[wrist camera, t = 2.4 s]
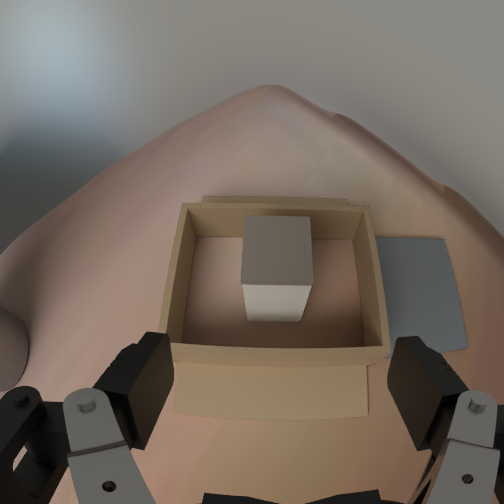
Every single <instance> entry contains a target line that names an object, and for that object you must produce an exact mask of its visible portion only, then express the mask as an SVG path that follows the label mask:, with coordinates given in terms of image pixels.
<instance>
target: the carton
mask: <svg viewBox="0 0 504 504" xmlns="http://www.w3.org/2000/svg"><path fill="white" fill-rule="evenodd" d="M245 216H298V217H310V227H311V238H313V239H352V240H353V245H354V252H355V260H356V267H357V276H358V284H359V293H360V303H361V313H362V325H363V337H364V347H349V348H250V347H227V346H209V345H194V344H182V343H181V342H182V334H183V326H184V318H185V310H186V303H187V296H188V288H189V281H190V275H191V268H192V261H193V255H194V249H195V242H196V237H244V225H245ZM158 333H167V334H168V335H169V338H170V344H171V352H172V360H173V362H178V369H177V379H176V389H175V400H174V411H173V413H179V414H187V415H196V416H206V417H217V418H231V419H250V420H323V419H341V418H354V417H365V416H368V396H367V369H366V366H372V365H374V364H375V363H377V362H378V361H380V360H381V359H383V358H385V357H386V356H388V355H389V354H391V348H390V337H389V327H388V318H387V310H386V302H385V295H384V288H383V281H382V274H381V268H380V262H379V256H378V251H377V245H376V240H375V234H374V229H373V224H372V220H371V215H370V210H369V207H364V206H348V202H347V199H328V198H300V197H244V196H212V197H202V203H182V206H181V211H180V215H179V220H178V225H177V229H176V234H175V239H174V244H173V249H172V254H171V259H170V265H169V270H168V275H167V281H166V287H165V292H164V298H163V304H162V311H161V317H160V323H159V330H158Z"/></svg>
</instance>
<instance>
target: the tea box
mask: <svg viewBox="0 0 504 504" xmlns="http://www.w3.org/2000/svg"><path fill="white" fill-rule="evenodd" d="M313 283H314V275H313V257H312V241H311V227H310V217H298V216H245V225H244V239H243V253H242V268H241V284H242V286H243V293H244V300H245V306H246V313H247V319H248V321H286V322H300V321H301V318H302V315H303V312H304V308H305V305H306V302H307V299H308V296H309V292H310V289H311V286H313Z"/></svg>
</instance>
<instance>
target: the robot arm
mask: <svg viewBox="0 0 504 504" xmlns="http://www.w3.org/2000/svg"><path fill="white" fill-rule="evenodd" d="M27 357H28V338H27V332H26V330H25V327H24V325H23V323H22V321H21V320H20V319H19V318H18V317H17V316H16V315H14V314H13V313H11V312H10V311H8V310H7V309H5V308H4V307H2V306H1V305H0V391H5V390H8V389H10V388H12V387H13V386H14V385H15V384H16V383H17V382H18V381H19V379H20V377H21V376H22V374H23V371H24V369H25V366H26V362H27ZM173 381H174V367H173V360H172V352H171V344H170V338H169V335H168V334H167V333H157V332H146V333H145V334H144V336H143V337H142V338H141V340H140V341H139V342H138V344H133V343H132V344H131V345H129V346H127V347H126V348H124V349H122V350H121V351H120V353H119V354H118V355H117V356H116V358H115V360H113V362H112V363H111V364H110V367H108V368H107V369H106V370H105V372H104V373H103V374H102V376H101V377H100V378H99V380H98V381H97V382H96V383H95V385H94V386H93V387H92V388H84V389H79V390H76V391H74V392H72V393H71V394H69V395H68V396H67V397H66V398H65V400H64V402H47V401H43V400H42V398H41V396H40V393H39V392H38V390H37V389H35V388H33V387H30V386H20V387H16V388H13V389H11V390H10V391H8V392H7V393H6V394H5V395H4V396H3V397H2V398H1V399H0V504H49V502H50V500H51V498H52V496H53V494H54V492H55V490H56V488H57V486H58V484H59V482H60V481H61V479H62V477H63V475H64V473H65V471H66V469H67V467H69V468H70V472H71V476H72V480H73V484H74V487H75V491H76V495H77V498H78V501H79V504H156V502H155V500H154V499H153V497H152V495H151V493H150V491H149V489H148V487H147V485H146V483H145V481H144V479H143V477H142V475H141V473H140V471H139V469H138V467H137V465H136V463H135V461H134V459H133V456H132V454H131V452H130V451H131V449H132V448H136V449H140V450H144V449H145V447H146V445H147V442H148V440H149V438H150V436H151V433H152V431H153V429H154V426H155V424H156V422H157V420H158V417H159V415H160V413H161V411H162V408H163V406H164V404H165V402H166V399H167V397H168V395H169V393H170V390H171V388H172V385H173ZM387 383H388V388H389V391H390V393H391V395H392V397H393V399H394V401H395V403H396V405H397V408H398V410H399V412H400V414H401V416H402V418H403V420H404V423H405V425H406V427H407V429H408V431H409V434H410V436H411V438H412V440H413V443H414V445H415V447H416V449H417V451H422V450H426V449H431V451H432V453H431V455H430V457H429V459H428V461H427V463H426V466H425V468H424V471H423V473H422V475H421V477H420V480H419V482H418V484H417V486H416V488H415V490H414V492H413V495H412V497H411V498H410V500H409V502H408V504H491V500H492V496H493V491H494V492H495V494H496V497H497V499H498V501H499V504H504V405H497V403H496V401H495V400H494V399H493V398H492V397H491V396H490V395H489V394H487V393H485V392H482V391H478V390H469V389H468V388H467V386H466V385H465V384H464V383H463V381H462V380H461V379H460V377H459V376H458V375H457V374H456V372H455V371H454V370H452V367H451V366H450V365H449V364H447V361H446V360H445V359H444V358H443V356H442V355H441V354H440V353H438V352H436V351H435V350H433V349H432V348H428V347H427V346H426V344H425V343H424V342H423V341H422V339H421V338H420V337H419V336H405V337H398V338H397V340H396V342H395V346H394V350H393V355H392V359H391V363H390V367H389V371H388V376H387ZM23 446H25V448H26V449H27V452H26V453H25V455H24V456H23V458H22V459H21V461H20V463H19V464H18V466H17V467H16V469H15V470H14V472H13V462H14V459H15V458H16V456H17V455H18V453H19V452H20V450H21V449H22V448H23ZM201 504H279V503H274V502H269V501H264V500H260V499H256V498H251V497H246V496H231V495H220V494H210V493H204V496H203V501H202V503H201ZM306 504H404V503H400V502H395V501H389V500H381V498H380V495H379V491H378V489H377V490H370V491H364V492H356V493H348V494H339V495H335V496H332V497H328V498H325V499H321V500H317V501H314V502H310V503H306Z"/></svg>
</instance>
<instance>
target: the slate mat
mask: <svg viewBox="0 0 504 504" xmlns="http://www.w3.org/2000/svg"><path fill="white" fill-rule="evenodd" d="M375 240H376V245H377V251H378V256H379V262H380V268H381V274H382V281H383V288H384V295H385V302H386V310H387V318H388V327H389V337H390V348H391V354H389V355H388V356H386V357H385V358H390V357H392V355H393V350H394V346H395V342H396V340H397V338H398V337H405V336H419V337H420V338H421V339H422V341H423V342H424V343H425V344H426V346H427V347H428V348H432V349H433V350H435V351H436V352H438V353H440V352H448V351H455V350H462V349H466V348H468V346H467V339H466V333H465V327H464V321H463V316H462V311H461V306H460V301H459V296H458V291H457V287H456V283H455V278H454V274H453V270H452V266H451V263H450V259H449V255H448V252H447V248H446V245H445V241H444V239H421V238H394V237H375Z"/></svg>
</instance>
